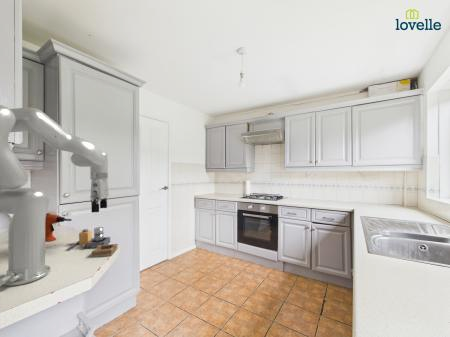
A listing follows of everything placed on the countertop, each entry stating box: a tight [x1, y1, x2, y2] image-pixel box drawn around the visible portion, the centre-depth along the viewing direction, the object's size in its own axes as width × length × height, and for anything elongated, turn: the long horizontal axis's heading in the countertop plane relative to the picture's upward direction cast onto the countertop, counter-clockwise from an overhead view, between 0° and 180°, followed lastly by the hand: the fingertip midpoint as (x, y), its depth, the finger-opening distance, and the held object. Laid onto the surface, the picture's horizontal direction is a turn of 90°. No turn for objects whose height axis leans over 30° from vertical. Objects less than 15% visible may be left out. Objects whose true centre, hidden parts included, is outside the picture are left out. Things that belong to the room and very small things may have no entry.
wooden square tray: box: [91, 243, 118, 258], centre depth 95 cm, size 8×8×2 cm
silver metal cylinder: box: [93, 226, 104, 242], centre depth 104 cm, size 4×4×8 cm
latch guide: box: [67, 237, 94, 252], centre depth 104 cm, size 13×7×1 cm, turn 10°
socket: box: [85, 236, 111, 250], centre depth 104 cm, size 8×8×3 cm
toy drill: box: [45, 212, 72, 243], centre depth 109 cm, size 5×19×15 cm, turn 78°
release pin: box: [78, 228, 92, 246], centre depth 107 cm, size 4×4×7 cm
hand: (99, 210), depth 105 cm, fingers open, 9 cm apart
